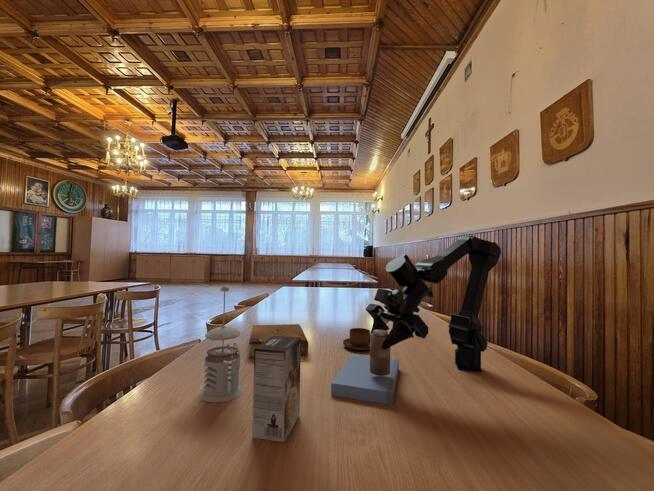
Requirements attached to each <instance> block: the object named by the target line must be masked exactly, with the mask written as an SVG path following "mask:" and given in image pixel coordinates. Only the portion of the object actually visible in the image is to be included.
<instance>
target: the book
mask: <svg viewBox="0 0 654 491" xmlns="http://www.w3.org/2000/svg"><path fill="white" fill-rule="evenodd" d="M399 366H400V359H397V358H395V359H394V358H390V374H389V375H385V376H379V375H374V374H372V373H371V372H370V355H363V354H362V355H360V354H354V353H353V354H350V356H349V357H348V358H347V360H346V361H345V363H344V364H343V366H342V367H341V369H340V370H339V371H338V373H337V374H336V376H335V377H334V378H333V379H332V381H331V382H330V389H331V390H330V395H331V396H335V397H341V398H346V399H347V398H348V399H353V400H359V401H364V402H371V403H378V404H382V405H389V406H392V405H393V401H394V395H395V390H396V385H397V379H398V376H399V371H400V369H399V368H400V367H399Z"/></svg>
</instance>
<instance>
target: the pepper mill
mask: <svg viewBox="0 0 654 491" xmlns="http://www.w3.org/2000/svg"><path fill="white" fill-rule="evenodd" d="M388 334H389V332H388V330H387V331H386V330H381V329H377V330H373V333H372V334H370V349H369V356H370V372H371V373H372V374H374V375H379V376H385V375H389V374H390V359H391V347H389V348H387V349H386V350H383V349H382V348H381V346H382V344H383V342H384V341H385V339H386V337H387V336H388Z"/></svg>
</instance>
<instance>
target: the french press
mask: <svg viewBox="0 0 654 491" xmlns="http://www.w3.org/2000/svg"><path fill="white" fill-rule="evenodd" d="M229 291H230V288H229V287H228V286H226V285H224V286H223V285H222V286H221V287H220V292H223V318H222V321H223V322H222V324H223V325H221V326H217V327H215V328H213V329H210V330H209V331H207V332H206V333H205V335H204V337H205V338H206V339H207V340H210V341H222V345H221V346H216V347H212V348H210V349H208V350H207V351H206V355H207V356H205V357H204V373H205V375H204V376H203V378H204V379H205V380H204V381H203V384H204V385H203V389H202V390H201V391H200V392H199V394H198V396H199V399H200V400H202V401H204V402H208V403H223V402H228V401H231V400H234V399H236V398H238V397H240V395H241V394H243V390H244V389H243V387H242V386H241V385H240V384H239V380H240V366H241V355H240V349H239V346H238V345H237V343H236V342H234V343H233V346H230V344H226V346H224V345H225V343H224V341H227V340H233V339H236V338H238V337H240V335H241V334H242V331H240V330H239V329H237V328H235V327H232V326H227V325H225V313H226V312H225V310H226V292H229ZM224 361H225V362H224ZM229 362H231V363H229ZM206 367H207V368H206ZM229 367H230V368H229ZM229 377H230V378H229Z"/></svg>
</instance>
